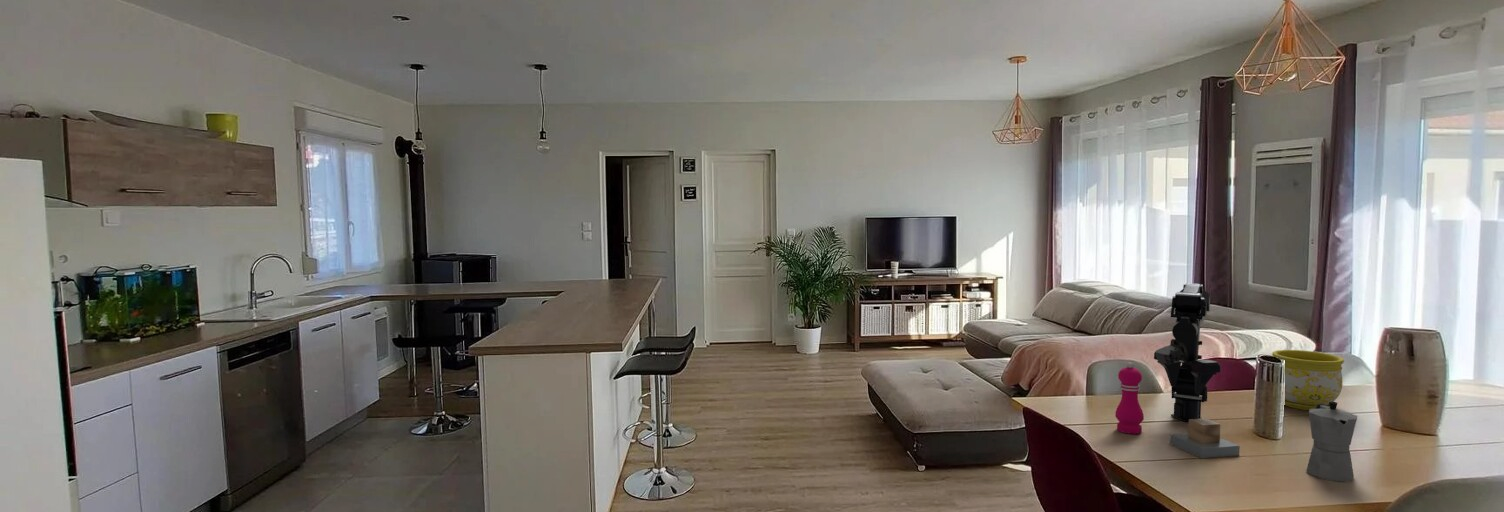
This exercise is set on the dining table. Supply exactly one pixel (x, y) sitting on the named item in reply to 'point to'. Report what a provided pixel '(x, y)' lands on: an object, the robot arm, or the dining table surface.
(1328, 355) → the flowerpot
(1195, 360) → the robot arm
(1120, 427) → the pepper mill
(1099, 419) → the dining table surface
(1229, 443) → the slate plinth
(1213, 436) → the walnut cube
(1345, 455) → the coffeepot
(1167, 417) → the dining table surface
